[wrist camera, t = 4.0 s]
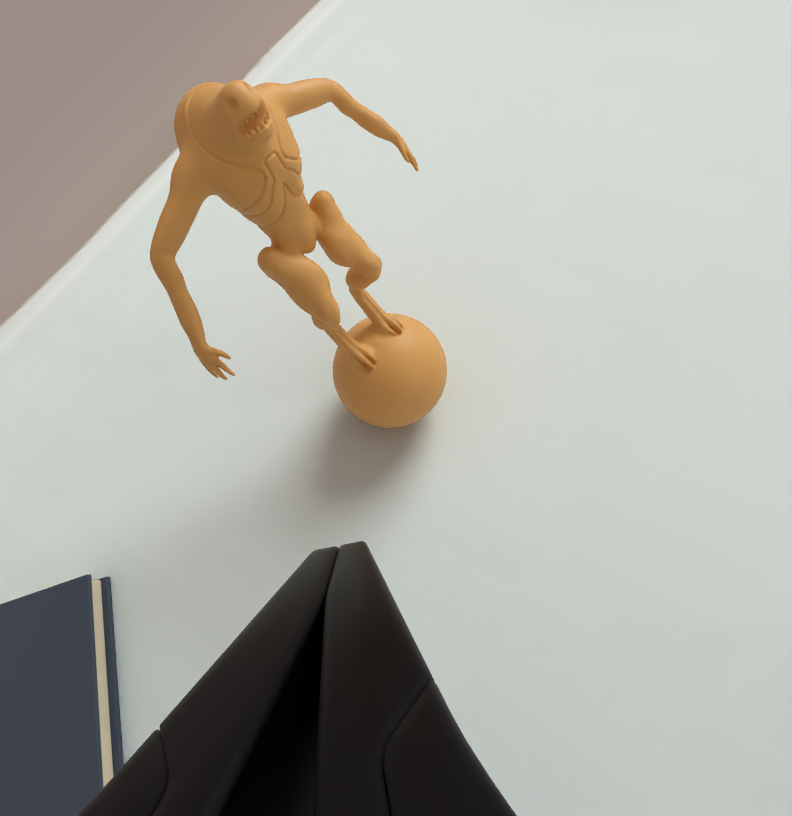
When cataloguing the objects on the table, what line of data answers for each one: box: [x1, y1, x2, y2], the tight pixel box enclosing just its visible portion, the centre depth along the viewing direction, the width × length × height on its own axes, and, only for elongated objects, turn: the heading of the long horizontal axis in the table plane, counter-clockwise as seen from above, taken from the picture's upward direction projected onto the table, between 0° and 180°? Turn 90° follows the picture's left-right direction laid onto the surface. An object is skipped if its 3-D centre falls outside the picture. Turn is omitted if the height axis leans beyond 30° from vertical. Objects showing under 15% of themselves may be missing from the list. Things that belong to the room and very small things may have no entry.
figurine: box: [150, 78, 447, 428], centre depth 15 cm, size 8×6×12 cm
